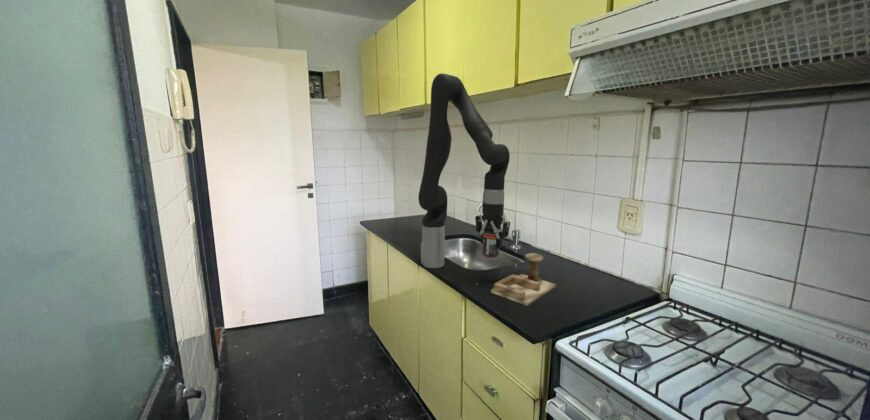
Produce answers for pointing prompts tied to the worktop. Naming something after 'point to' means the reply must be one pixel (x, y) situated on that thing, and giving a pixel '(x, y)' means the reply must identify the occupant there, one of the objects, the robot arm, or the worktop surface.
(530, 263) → the bobbin post
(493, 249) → the supplement bottle
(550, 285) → the notched board
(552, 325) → the worktop surface
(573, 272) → the worktop surface
